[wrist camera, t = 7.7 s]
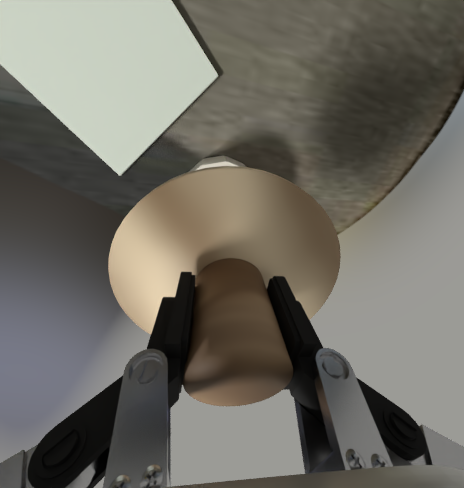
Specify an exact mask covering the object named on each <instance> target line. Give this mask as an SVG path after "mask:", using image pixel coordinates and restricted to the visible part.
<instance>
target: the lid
mask: <svg viewBox="0 0 464 488" xmlns="http://www.w3.org/2000/svg"><path fill="white" fill-rule="evenodd" d="M339 268H340V245H339V240H338V237H337V233H336V230H335V228H334V226H333V223H332V221H331V219H330V218H329V216H328V215H327V213H326V212H325V211H324V209H323V208H322V207H321V206H320V205H319V204H318V203H317V202H316V200H315V199H314V198H313V197H312V196H310V195H309V194H307V193H306V192H305V191H303V190H302V189H301V188H299V187H298V186H296V185H295V184H293V183H291V182H290V181H288V180H286V179H284V178H282V177H280V176H278V175H275V174H272V173H269V172H266V171H263V170H259V169H254V168H248V167H240V166H219V167H209V168H203V169H199V170H195V171H191V172H187V173H185V174H182V175H180V176H177V177H175V178H172V179H170V180H169V181H167V182H165V183H163V184H162V185H160V186H158V187H157V188H155V189H154V190H153V191H151V192H150V193H149V194H148V195H146V196H145V197H144V198H143V199H142V200H141V201H140V202H139V203H137V205H136V206H135V207H134V208H133V209H132V210H131V211H130V212H129V213H128V215H127V216H126V217H125V218H124V220H123V222H122V223H121V225H120V227H119V228H118V230H117V232H116V234H115V237H114V239H113V242H112V245H111V250H110V254H109V276H110V283H111V286H112V289H113V292H114V295H115V297H116V299H117V300H118V302H119V304H120V306H121V307H122V309H123V310H124V311H125V313H126V314H127V315H128V316H129V317H130V318H131V319H132V320H133V321H134V323H135V324H137V325H138V326H139V327H140V328H142V329H143V330H144V331H146V332H147V333H149V334H150V335H151V333H152V330H153V327H154V324H155V320H156V317H157V314H158V311H159V307H160V304H161V301H162V298H163V297H175V295H176V291H177V287H178V282H179V278H180V274H181V272H192V275H196V280H195V294H194V302H193V311H192V319H191V328H190V337H189V345H188V354H187V361H186V363H185V369H184V378H183V386H184V389H185V391H186V392H187V393H188V394H189V395H190V396H191V397H193V398H194V399H196V400H198V401H200V402H203V403H206V404H211V405H216V406H240V405H247V404H252V403H255V402H259V401H262V400H265V399H267V398H270V397H271V396H274V395H275V394H277V393H279V392H280V391H281V390H283V389H284V388H285V387H286V386H287V385H288V384H289V382H290V381H291V379H292V377H293V366H292V363H291V360H290V357H289V354H288V351H287V348H286V345H285V342H284V339H283V337H282V334H281V331H280V328H279V325H278V322H277V319H276V316H275V313H274V310H273V307H272V304H271V301H270V298H269V295H268V292H267V287H268V283H269V280H270V278H273V276H284V277H285V278H286V280H287V282H288V284H289V286H290V288H291V290H292V292H293V294H294V296H295V299H296V301H299V302H300V303H301V305H302V307H303V309H304V311H305V313H306V315H307V317H308V319H309V320H310V319H311V318H312V317H313V316H314V315H315V314H316V313H317V312H318V311H319V309H320V308H321V307H322V306H323V304H324V303H325V302H326V300H327V299H328V296H329V295H330V293H331V292H332V289H333V287H334V285H335V282H336V280H337V276H338V272H339Z"/></svg>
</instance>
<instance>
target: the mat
mask: <svg viewBox="0 0 464 488" xmlns="http://www.w3.org/2000/svg"><path fill="white" fill-rule="evenodd" d="M0 64H1V65H2V66H3V67H4V68H5V69H6V70H7V71H8V72H9V73H10V74H11V75H13V76H14V77H15V78H16V79H17V80H18V81H19V82H20V83H21V84H22V85H23V86H24V87H25V88H26V89H27V90H29V91H30V92H31V93H32V94H33V95H34V96H35V97H36V98H37V99H38V100H39V101H40V102H41V103H42V104H43V105H45V106H46V107H47V108H48V109H49V110H50V111H51V112H52V113H53V114H54V115H55V116H56V117H57V118H58V119H60V120H61V121H62V122H63V123H64V124H65V125H66V126H67V127H68V128H69V129H70V130H71V131H72V132H73V133H74V134H76V135H77V136H78V137H79V138H80V139H81V140H82V141H83V142H84V143H85V144H86V145H87V146H88V147H89V148H91V149H92V150H93V151H94V152H95V153H96V154H97V155H98V156H99V157H100V158H101V159H102V160H103V161H104V162H105V163H107V164H108V165H109V166H110V167H111V168H112V169H113V170H114V171H115V172H116V173H117V174H118V175H119V176H121V175H122V174H123V173H124V172H125V171H126V170H127V169H128V168H129V167H130V166H131V165H132V164H133V163H134V162H135V161H136V160H137V159H138V158H139V157H140V156H141V155H142V154H143V153H144V152H145V151H146V150H147V149H148V148H149V147H150V146H151V145H152V144H153V143H154V142H155V141H156V140H157V139H158V138H159V137H160V136H161V135H162V134H163V132H164V131H165V130H166V129H167V128H168V127H169V126H170V125H171V124H172V123H173V122H174V121H175V120H176V119H177V118H178V117H179V116H180V115H181V114H182V113H183V112H184V111H185V110H186V109H187V108H188V107H189V106H190V105H191V104H192V103H193V102H194V101H195V100H196V99H197V98H198V97H199V96H200V95H201V94H202V93H203V92H204V91H205V90H206V89H207V88H208V87H209V86H210V85H211V84H212V83H213V82H214V81H215V80H216V79H217V78H218V74H217V72H216V71H215V69H214V68H213V66H212V64H211V63H210V61H209V60H208V58H207V56H206V55H205V53H204V52H203V50H202V48H201V47H200V45H199V43H198V42H197V40H196V39H195V37H194V35H193V34H192V32H191V31H190V29H189V27H188V26H187V24H186V23H185V21H184V19H183V18H182V16H181V15H180V13H179V11H178V10H177V8H176V7H175V5H174V3H173V2H172V0H0Z"/></svg>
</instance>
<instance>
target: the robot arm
mask: <svg viewBox="0 0 464 488" xmlns="http://www.w3.org/2000/svg"><path fill="white" fill-rule="evenodd" d="M195 280H196V275H192V272H181V274H180V278H179V282H178V287H177V291H176V295H175V297H163V298H162V301H161V304H160V307H159V311H158V314H157V317H156V320H155V324H154V327H153V330H152V333H151V337H150V340H149V343H148V347H147V350H143V351H141V352H139V353H137V354H136V355H135V356H134V357H132V359H130V361H129V362H128V364H127V365H126V368H125V371H124V374H123V376H122V377H120V378H119V379H118V380H116V381H115V382H114V383H112V384H111V385H110V386H108V387H107V388H106V389H104V390H103V391H102V392H100V393H99V394H98V395H96V396H95V397H94V398H92V399H91V400H90V401H88V402H87V403H86V404H85V405H83V406H82V407H81V408H79V409H78V410H77V411H75V412H74V413H72V414H71V415H70V416H68V417H67V418H66V419H64V420H63V421H62V422H61V423H59V424H58V425H57V426H55V427H54V428H53V429H52V430H51V431H50V432H48V434H46V435H45V437H44V438H43V439H42V440H41V441H40V443H39V444H38V445H36V446H35V447H33V448H31V449H29V450H28V451H26V452H25V451H24V450H22V451H20V452H19V453H17V454H15V455H14V456H12V457H10V458H8V459H7V460H5V461H3V462H2V463H0V488H93V487H94V486H95V485H96V484H97V483H98V482H99V481H100V480H101V479H102V478H103V477H104V476H105V479H104V484H103V488H464V447H463V446H461V445H459V444H457V443H455V442H453V441H452V440H450V439H448V438H446V437H444V436H442V435H441V434H439V433H437V432H435V431H433V430H431V429H429V428H428V427H426V426H424V425H420V426H418V425H417V423H416V422H415V421H414V420H413V419H412V418H411V416H410V415H409V414H407V413H406V412H405V411H404V410H403V409H401V408H400V407H398V406H397V405H395V404H394V403H392V402H391V401H390V400H388V399H387V398H385V397H384V396H382V395H381V394H380V393H378V392H376V391H375V390H374V389H372V388H371V387H369V386H368V385H366V384H365V383H364V382H362V381H361V380H359V379H358V378H356V376H355V374H354V372H353V369H352V367H351V365H350V364H349V362H348V361H347V360H346V358H344V356H342V355H341V354H340V353H338V352H337V351H335V350H333V349H329V348H323V347H322V344H321V343H320V340H319V338H318V337H317V335H316V333H315V331H314V329H313V327H312V325H311V323H310V321H309V319H308V317H307V315H306V313H305V311H304V309H303V307H302V305H301V303H300V302H299V301H296V299H295V296H294V294H293V292H292V290H291V288H290V286H289V284H288V282H287V280H286V278H285V277H284V276H273V278H270V280H269V283H268V287H267V292H268V295H269V298H270V301H271V304H272V307H273V310H274V313H275V316H276V319H277V322H278V325H279V328H280V331H281V334H282V337H283V339H284V342H285V345H286V348H287V351H288V354H289V357H290V360H291V363H292V366H293V377H292V379H291V381H290V382H289V384H288V385H287V386H286V387H285V388H284V389H290V393H291V395H292V396H293V397H294V401H295V408H296V414H297V421H298V428H299V435H300V442H301V449H302V456H303V462H304V469H305V474H300V475H289V476H277V477H267V478H257V479H246V480H235V481H225V482H215V483H204V484H194V485H184V486H174V487H171V438H170V436H171V433H170V429H171V428H170V408H171V407H172V406H173V405H174V403H176V402H177V401H178V399H179V393H181V387H182V385H183V378H184V369H185V363H186V361H187V354H188V345H189V337H190V328H191V319H192V311H193V302H194V294H195Z"/></svg>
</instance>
